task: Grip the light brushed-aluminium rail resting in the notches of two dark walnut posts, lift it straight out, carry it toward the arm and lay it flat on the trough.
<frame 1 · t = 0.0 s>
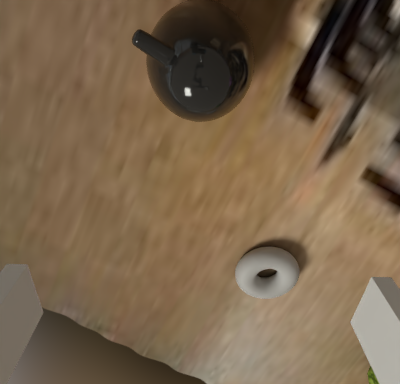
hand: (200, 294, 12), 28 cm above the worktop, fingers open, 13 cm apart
lettuce: (397, 365, 65), on the worktop
pump dispenser: (199, 54, 34), on the worktop
donut: (264, 264, 50), on the worktop
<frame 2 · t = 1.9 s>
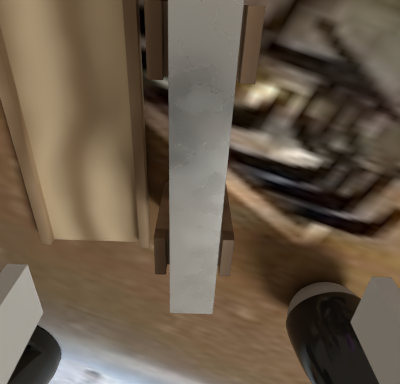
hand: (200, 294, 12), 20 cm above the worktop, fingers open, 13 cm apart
cradle posts: (197, 127, 29), on the worktop
pump dispenser: (316, 296, 42), on the worktop
trough: (80, 122, 29), on the worktop
rail: (197, 164, 22), point 8 cm above the worktop, touching cradle posts
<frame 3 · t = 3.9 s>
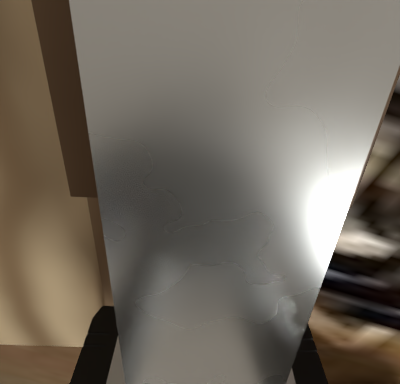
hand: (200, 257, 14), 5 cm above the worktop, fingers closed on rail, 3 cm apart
cradle posts: (200, 201, 18), on the worktop
trough: (9, 194, 18), on the worktop
rail: (200, 323, 11), point 8 cm above the worktop, touching cradle posts, gripper
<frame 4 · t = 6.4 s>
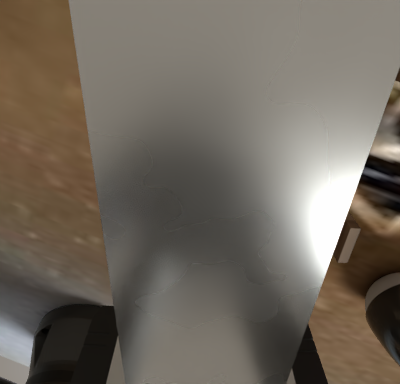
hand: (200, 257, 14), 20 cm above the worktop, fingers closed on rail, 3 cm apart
cradle posts: (308, 124, 31), on the worktop
pump dispenser: (389, 286, 44), on the worktop
rail: (200, 322, 11), point 23 cm above the worktop, touching gripper
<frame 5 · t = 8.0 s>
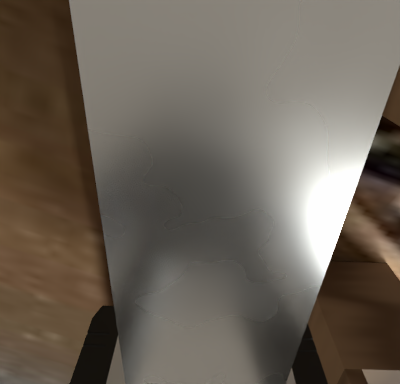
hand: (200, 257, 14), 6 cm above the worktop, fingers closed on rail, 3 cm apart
cradle posts: (371, 192, 20), on the worktop
rail: (200, 322, 11), point 10 cm above the worktop, touching gripper
when the fingers open (1 cm above the worktop, at t = 9.0 s): rail drops 4 cm, resting on trough.
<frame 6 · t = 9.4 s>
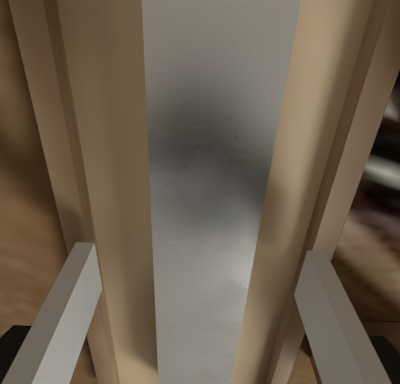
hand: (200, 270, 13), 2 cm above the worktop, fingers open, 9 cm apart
trough: (200, 237, 15), on the worktop
rail: (200, 242, 15), resting on trough
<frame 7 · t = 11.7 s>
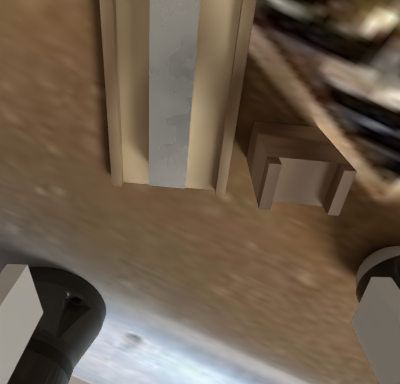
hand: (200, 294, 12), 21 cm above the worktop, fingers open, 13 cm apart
cradle posts: (302, 58, 27), on the worktop
pump dispenser: (384, 262, 40), on the worktop
trough: (176, 44, 27), on the worktop
rail: (176, 45, 26), resting on trough
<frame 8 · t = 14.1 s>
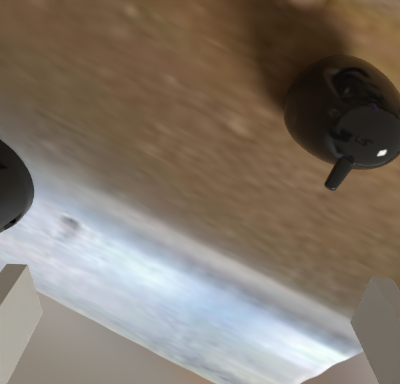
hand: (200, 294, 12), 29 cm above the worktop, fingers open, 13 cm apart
pump dispenser: (318, 97, 37), on the worktop
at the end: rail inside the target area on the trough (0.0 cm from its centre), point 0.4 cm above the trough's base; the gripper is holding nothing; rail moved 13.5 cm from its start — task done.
